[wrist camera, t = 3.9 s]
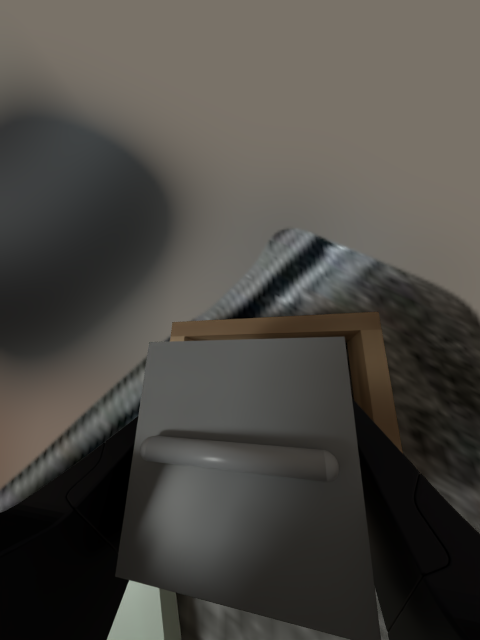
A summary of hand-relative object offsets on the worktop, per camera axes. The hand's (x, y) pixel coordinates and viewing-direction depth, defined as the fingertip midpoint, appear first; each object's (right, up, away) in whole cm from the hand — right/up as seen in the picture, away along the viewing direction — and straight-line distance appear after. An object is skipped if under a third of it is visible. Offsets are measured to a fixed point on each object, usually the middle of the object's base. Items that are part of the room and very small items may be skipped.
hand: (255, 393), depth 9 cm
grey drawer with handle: (+2, -3, +6) cm, 7 cm away
